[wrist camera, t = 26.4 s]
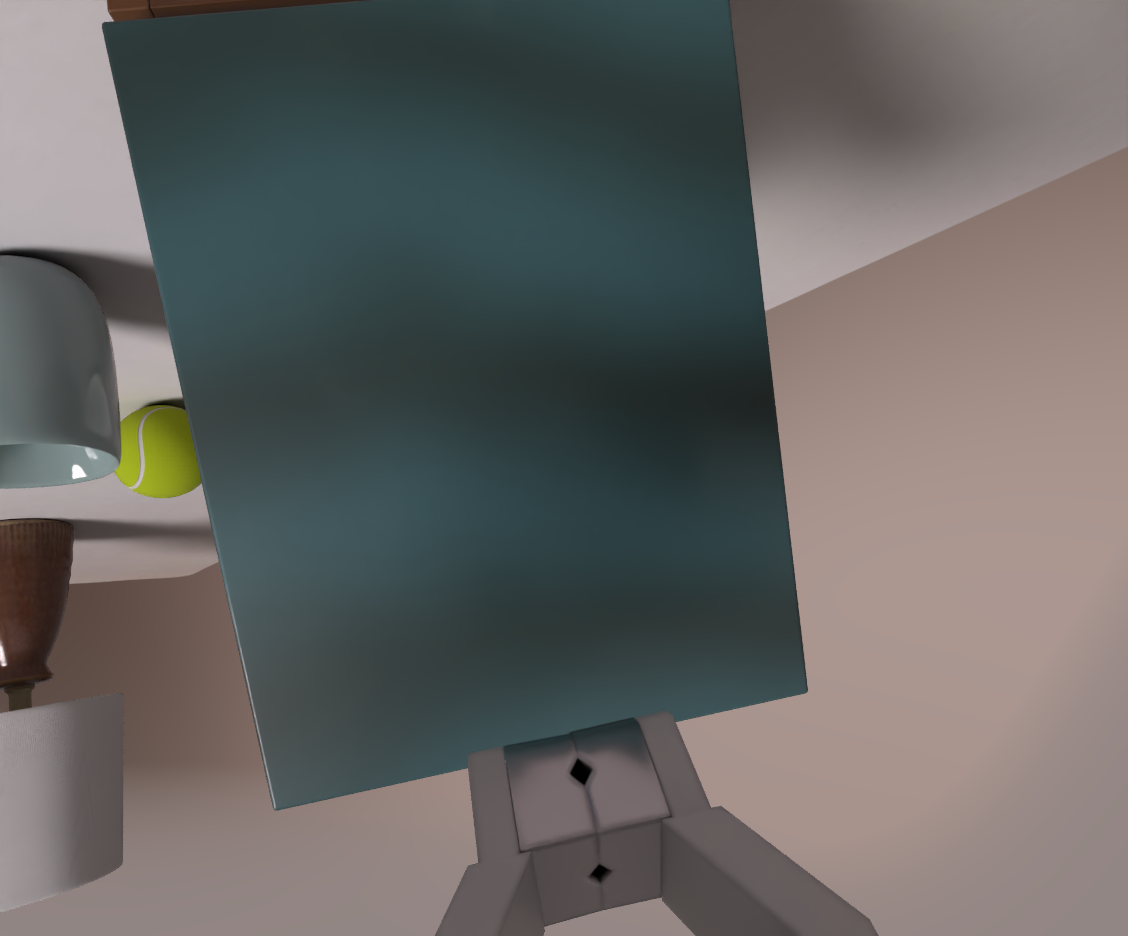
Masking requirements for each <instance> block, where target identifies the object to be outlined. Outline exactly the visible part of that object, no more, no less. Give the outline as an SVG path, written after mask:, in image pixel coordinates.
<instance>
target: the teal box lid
mask: <svg viewBox="0 0 1128 936" xmlns="http://www.w3.org/2000/svg"><path fill="white" fill-rule="evenodd" d="M102 30H103V34H104V39H105V44H106V48H107V53H108V57H109V62H110V66H111V71H112V76H113V80H114V85H115V89H116V94H117V98H118V103H119V107H120V112H121V117H122V121H123V126H124V130H125V135H126V139H127V144H128V149H129V153H130V158H131V162H132V167H133V171H134V176H135V180H136V185H137V190H138V194H139V199H140V203H141V208H142V212H143V217H144V221H145V226H146V231H147V235H148V240H149V244H150V249H151V253H152V258H153V263H154V267H155V272H156V276H157V281H158V285H159V290H160V294H161V299H162V304H163V308H164V313H165V317H166V322H167V326H168V331H169V336H170V340H171V345H172V349H173V354H174V358H175V363H176V367H177V372H178V377H179V381H180V386H181V390H182V395H183V399H184V404H185V408H186V413H187V418H188V422H189V427H190V431H191V436H192V440H193V445H194V450H195V454H196V459H197V463H198V468H199V472H200V477H201V481H202V486H203V491H204V495H205V500H206V504H207V509H208V513H209V518H210V523H211V527H212V532H213V536H214V541H215V545H216V550H217V554H218V559H219V564H220V568H221V572H222V577H223V582H224V586H225V591H226V595H227V600H228V604H229V609H230V613H231V618H232V623H233V627H234V632H235V637H236V641H237V646H238V650H239V655H240V659H241V664H242V668H243V673H244V678H245V682H246V687H247V691H248V696H249V700H250V705H251V709H252V714H253V719H254V723H255V727H256V732H257V737H258V741H259V746H260V751H261V755H262V759H263V764H264V768H265V773H266V777H267V782H268V787H269V791H270V796H271V801H272V805H273V808H274V810H281V809H286V808H290V807H295V806H299V805H304V804H308V803H313V802H317V801H322V800H326V799H331V798H335V797H339V796H344V795H349V794H354V793H358V792H362V791H367V790H371V789H376V788H380V787H385V786H390V785H394V784H398V783H403V782H408V781H412V780H417V779H421V778H425V777H430V776H435V775H439V774H443V773H448V772H453V771H457V770H461V769H466V768H468V753H472V752H477V751H481V750H486V749H491V748H496V747H500V746H503V751H504V746H506V745H511V744H516V743H522V742H527V741H532V740H538V739H543V738H548V737H554V736H559V735H564V734H569V732H571V731H576V730H580V729H584V728H589V727H593V726H597V725H602V724H606V723H610V722H615V721H619V720H623V719H627V718H632V717H633V718H634V719H635V718H636V717H641V716H645V715H650V714H654V713H658V712H663V711H669V712H670V713H671V714H672V716H673V717H674V720H675V722H678V721H683V720H687V719H692V718H696V717H701V716H705V715H709V714H714V713H719V712H723V711H728V710H732V709H736V708H741V707H745V706H750V705H755V704H759V703H764V702H768V701H773V700H777V699H782V698H786V697H791V696H795V695H800V694H804V693H806V692H807V691H808V687H807V678H806V670H805V661H804V652H803V643H802V634H801V626H800V617H799V609H798V600H797V591H796V582H795V573H794V564H793V556H792V547H791V539H790V529H789V521H788V512H787V504H786V494H785V486H784V477H783V469H782V460H781V451H780V442H779V433H778V424H777V416H776V406H775V398H774V389H773V380H772V371H771V363H770V354H769V345H768V336H767V328H766V319H765V310H764V301H763V292H762V284H761V275H760V266H759V257H758V249H757V240H756V231H755V222H754V213H753V205H752V196H751V187H750V178H749V170H748V161H747V152H746V143H745V134H744V126H743V117H742V108H741V99H740V91H739V82H738V73H737V64H736V56H735V47H734V38H733V29H732V20H731V12H730V3H729V0H363V1H351V2H339V3H328V4H316V5H304V6H292V7H280V8H268V9H256V10H244V11H232V12H221V13H209V14H197V15H185V16H173V17H161V18H149V19H137V20H125V21H113V22H104V23H102ZM504 756H505V753H504Z"/></svg>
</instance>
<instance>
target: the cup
mask: <svg viewBox="0 0 1128 936" xmlns="http://www.w3.org/2000/svg"><path fill="white" fill-rule="evenodd" d="M121 455H122V445H121V425H120V411H119V398H118V386H117V376H116V367H115V360H114V353H113V347H112V341H111V336H110V332H109V328H108V324H107V321H106V318H105V315H104V312H103V310H102V308H101V306H100V304H99V302H98V300H97V298H96V296H95V294H94V293H93V292H92V290H91V289H90V288H89V286H88V285H87V284H86V283H85V282H84V281H83V280H82V279H80V278H79V277H78V276H77V275H75V274H74V273H73V272H71V271H69V270H67V269H66V268H64V267H61V266H59V265H57V264H55V263H52V262H49V261H46V260H41V259H37V258H31V257H24V256H14V255H0V488H4V489H9V488H36V487H49V486H60V485H67V484H74V483H80V482H85V481H90V480H94V479H98V478H102V477H104V476H106V475H109V474H111V473H112V472H114V471H115V470H116V469H117V468H118V467H119V465H120V464H121Z"/></svg>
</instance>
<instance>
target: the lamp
mask: <svg viewBox="0 0 1128 936" xmlns="http://www.w3.org/2000/svg"><path fill="white" fill-rule="evenodd" d="M73 543H74V529H73V527H72V526H71V525H69V524H68V523H65V522H61V521H54V520H40V519H22V520H5V521H0V690H4V692H5V693H7V694H8V696H9V712H5V713H0V912H4V911H8V910H11V909H15V908H18V907H22V906H25V905H28V904H31V903H34V902H38V901H40V900H44V899H47V898H49V897H53V896H55V895H58V894H61V893H64V892H67V891H70V890H72V889H75V888H77V887H80V886H82V885H85V884H87V883H90V882H92V881H94V880H97V879H99V878H101V877H103V876H105V875H107V874H109V873H111V872H113V871H114V870H116V869H117V868H119V867H120V866H121V865H122V862H123V736H124V733H123V732H124V731H123V730H124V728H123V727H124V726H123V725H124V721H123V720H124V694H123V693H118V694H111V695H103V696H97V697H90V698H84V699H78V700H72V701H66V702H60V703H54V704H49V705H44V706H38V707H32V699H31V691H32V690H33V689H34V687H35V684H39V683H43V682H46V681H49V680H50V679H52V678H53V676H54V674H53V673H52V671H51V670H50V669H49V667H48V666H47V660H48V657H49V655H50V653H51V651H52V649H53V647H54V644H55V642H56V639H57V636H58V634H59V631H60V627H61V625H62V621H63V617H64V613H65V609H66V604H67V598H68V590H69V580H70V576H71V566H72V561H73Z"/></svg>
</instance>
